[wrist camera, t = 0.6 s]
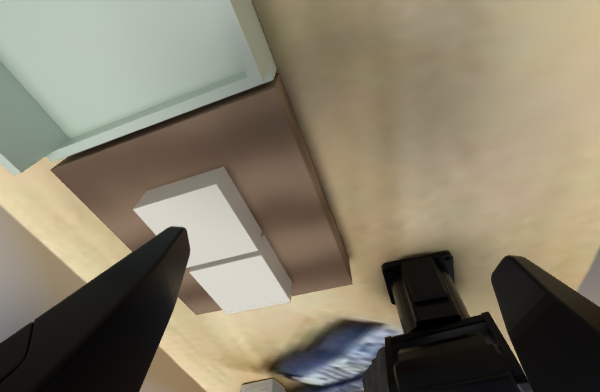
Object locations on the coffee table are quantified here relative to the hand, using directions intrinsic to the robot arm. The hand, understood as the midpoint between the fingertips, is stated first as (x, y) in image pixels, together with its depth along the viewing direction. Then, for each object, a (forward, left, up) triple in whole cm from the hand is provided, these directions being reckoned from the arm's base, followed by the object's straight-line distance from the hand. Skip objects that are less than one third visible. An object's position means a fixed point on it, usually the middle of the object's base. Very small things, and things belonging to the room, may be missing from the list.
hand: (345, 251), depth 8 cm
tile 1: (-4, +10, -10) cm, 15 cm away
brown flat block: (-7, +10, -13) cm, 18 cm away
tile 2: (-11, +10, -10) cm, 18 cm away
